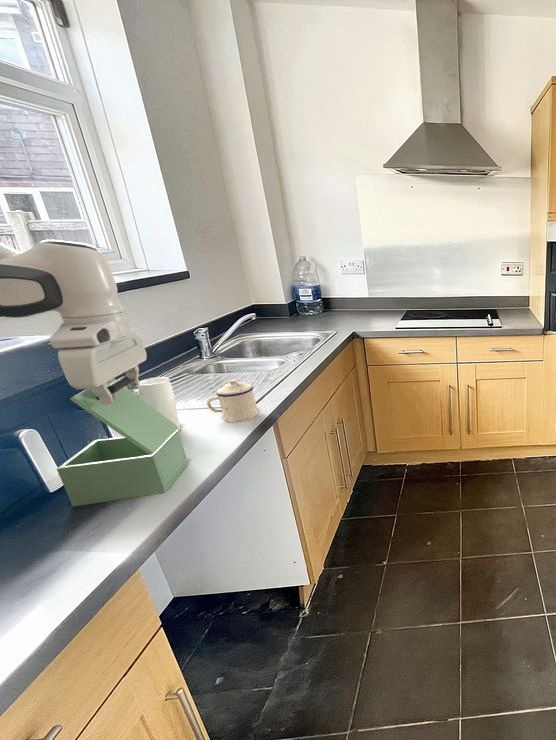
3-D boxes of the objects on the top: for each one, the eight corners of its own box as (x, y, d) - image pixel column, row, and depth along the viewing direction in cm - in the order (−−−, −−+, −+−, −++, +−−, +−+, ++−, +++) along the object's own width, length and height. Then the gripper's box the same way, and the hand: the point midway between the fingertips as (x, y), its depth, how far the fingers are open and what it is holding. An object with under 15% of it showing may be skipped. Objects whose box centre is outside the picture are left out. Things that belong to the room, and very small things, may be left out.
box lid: (69, 399, 77) (90, 383, 78) (107, 378, 89) (126, 364, 89) (150, 455, 85) (169, 440, 85) (176, 429, 96) (193, 416, 96)
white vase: (152, 431, 115) (135, 380, 110) (182, 424, 120) (168, 375, 114) (154, 439, 111) (136, 387, 105) (185, 431, 115) (170, 381, 110)
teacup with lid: (259, 408, 130) (251, 373, 126) (258, 419, 123) (250, 382, 119) (213, 416, 125) (203, 379, 121) (209, 427, 117) (199, 389, 113)
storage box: (72, 506, 83) (56, 468, 80) (108, 474, 94) (94, 439, 92) (165, 492, 88) (152, 456, 85) (188, 463, 99) (178, 430, 96)
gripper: (109, 319, 89) (129, 380, 93) (41, 341, 70) (71, 415, 75) (144, 317, 91) (163, 377, 95) (87, 338, 72) (113, 411, 77)
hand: (122, 394), depth 85 cm, fingers open, 8 cm apart
